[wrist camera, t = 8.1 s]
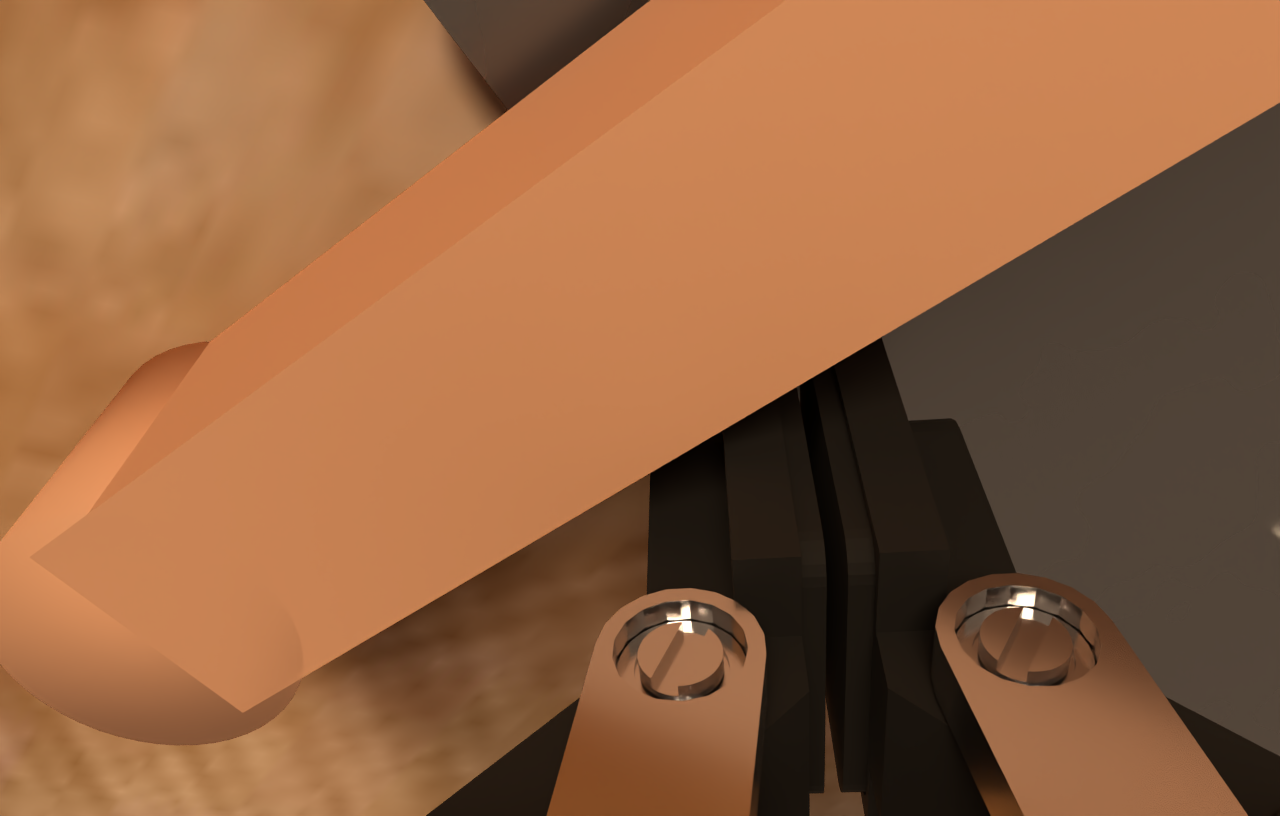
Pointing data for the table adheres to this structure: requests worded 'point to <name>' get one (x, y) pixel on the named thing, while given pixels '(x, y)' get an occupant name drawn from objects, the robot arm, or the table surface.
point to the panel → (1090, 387)
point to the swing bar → (581, 319)
